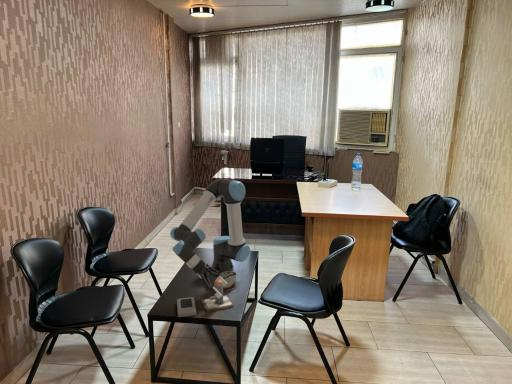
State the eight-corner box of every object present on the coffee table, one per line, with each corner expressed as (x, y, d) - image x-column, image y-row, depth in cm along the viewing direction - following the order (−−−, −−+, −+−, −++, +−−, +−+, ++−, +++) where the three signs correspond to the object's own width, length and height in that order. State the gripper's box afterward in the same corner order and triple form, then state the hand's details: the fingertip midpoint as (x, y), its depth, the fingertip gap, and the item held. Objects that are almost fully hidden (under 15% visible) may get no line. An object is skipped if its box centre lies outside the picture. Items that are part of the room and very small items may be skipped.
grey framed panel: (177, 311, 190) (176, 297, 204) (178, 317, 191) (177, 303, 205) (196, 309, 192) (193, 295, 206) (196, 315, 193) (194, 301, 207)
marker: (214, 301, 204) (213, 280, 201) (222, 299, 205) (221, 278, 202) (216, 305, 200) (215, 283, 197) (224, 303, 201) (223, 282, 198)
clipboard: (201, 301, 206) (201, 298, 205) (226, 296, 211) (226, 293, 211) (206, 312, 195) (206, 308, 195) (233, 306, 201) (233, 303, 200)
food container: (230, 283, 228) (230, 268, 226) (236, 287, 223) (236, 271, 221) (214, 290, 219) (214, 274, 217) (221, 293, 215) (220, 278, 213)
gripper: (198, 259, 212) (223, 284, 214) (184, 278, 188) (212, 306, 189) (206, 251, 210) (232, 276, 212) (193, 269, 186) (222, 298, 188)
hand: (223, 290), depth 201 cm, fingers open, 13 cm apart
